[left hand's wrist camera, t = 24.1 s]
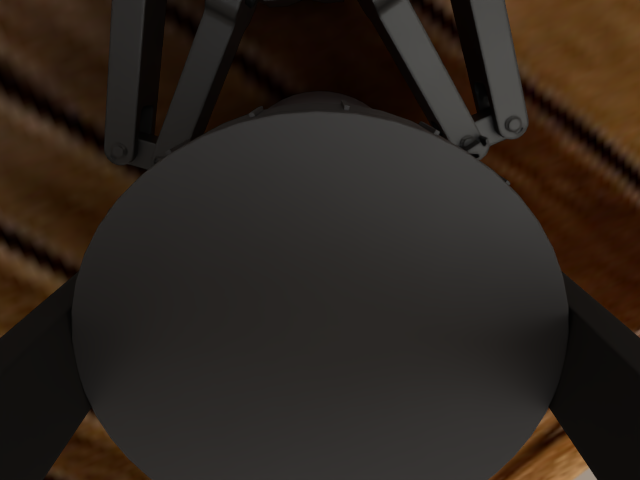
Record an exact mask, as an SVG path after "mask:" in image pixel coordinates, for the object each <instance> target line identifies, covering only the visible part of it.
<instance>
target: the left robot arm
mask: <svg viewBox="0 0 640 480" xmlns="http://www.w3.org/2000/svg"><path fill="white" fill-rule="evenodd" d="M561 272H562V271H561ZM78 273H79V272H77V273H76V274H75V275H74V276H73V277H71V278H70V279H69V280H68V281H67V282H66V283H64V284H63V285H62V286H61V287H60V288H59V289H57V290H56V291H55V292H54V293H53V294H52V295H50V296H49V297H48V298H47V299H46V300H44V301H43V302H42V303H41V304H40V305H39V306H37V307H36V308H35V309H34V310H33V311H32V312H30V313H29V314H28V315H27V316H26V317H25V318H23V319H22V320H21V321H20V322H19V323H17V324H16V325H15V326H14V327H13V328H12V329H10V330H9V331H8V332H7V333H6V334H5V335H3V336H2V337H1V338H0V480H43V479H44V477H45V476H46V474H47V473H48V471H49V470H50V468H51V467H52V465H53V464H54V462H55V461H56V459H57V458H58V456H59V455H60V453H61V452H62V450H63V449H64V447H65V446H66V444H67V443H68V442H69V440H70V439H71V437H72V436H73V434H74V433H75V431H76V430H77V428H78V427H79V425H80V424H81V422H82V421H83V419H84V418H85V416H86V415H87V413H88V412H89V410H90V409H91V407H92V406H91V404H90V402H89V400H88V398H87V396H86V394H85V392H84V389H83V386H82V383H81V379H80V376H79V372H78V368H77V364H76V359H75V354H74V350H73V344H72V315H71V311H72V304H73V298H74V291H75V284H76V280H77V277H78ZM562 275H563V279H564V285H565V290H566V296H567V302H568V319H569V336H568V344H567V351H566V356H565V361H564V365H563V369H562V373H561V377H560V380H559V384H558V387H557V390H556V392H555V394H554V396H553V398H552V400H551V403H550V405H549V408H550V410H551V411H552V413H553V414H554V416H555V417H556V419H557V420H558V422H559V423H560V425H561V426H562V428H563V429H564V431H565V432H566V434H567V435H568V437H569V438H570V440H571V441H572V443H573V444H574V446H575V447H576V449H577V450H578V452H579V453H580V455H581V456H582V458H583V459H584V461H585V462H586V463H587V465H588V466H589V468H590V469H591V471H592V472H593V474H594V475H595V477H596V478H597V480H640V338H639V337H638V336H637V335H636V334H635V333H633V332H632V331H631V330H630V329H629V328H628V327H626V326H625V325H624V324H623V323H622V322H620V321H619V320H618V319H617V318H616V317H615V316H613V315H612V314H611V313H610V312H609V311H608V310H606V309H605V308H604V307H603V306H602V305H601V304H599V303H598V302H597V301H596V300H595V299H593V298H592V297H591V296H590V295H589V294H588V293H586V292H585V291H584V290H583V289H582V288H581V287H579V286H578V285H577V284H576V283H575V282H574V281H572V280H571V279H570V278H569V277H568V276H566V275H565V274H564V273H563V272H562Z"/></svg>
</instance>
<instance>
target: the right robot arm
mask: <svg viewBox="0 0 640 480" xmlns="http://www.w3.org/2000/svg"><path fill="white" fill-rule="evenodd" d="M299 1H302V0H205V10H204V13H203V16H202V19H201V22H200V25H199V27H198V30H197V33H196V36H195V38H194V41H193V44H192V47H191V49H190V52H189V55H188V57H187V60H186V63H185V66H184V68H183V71H182V74H181V77H180V79H179V82H178V85H177V88H176V90H175V93H174V96H173V99H172V101H171V104H170V107H169V110H168V112H167V115H166V118H165V121H164V123H163V126H162V129H161V132H160V134H159V136H155V135H154V132H155V121H156V111H157V100H158V89H159V78H160V68H161V57H162V46H163V35H164V24H165V14H166V3H167V0H112V10H111V29H110V47H109V66H108V84H107V103H106V121H105V140H104V151H105V155H106V156H107V158H108V159H109V160H110V161H111V162H112V163H114V164H116V165H125V164H129V165H133V166H136V167H140V168H144V169H146V170H149V169H150V168H151V167H153V166H154V165H155V164H157V163H158V162H159V161H161V160H162V159H163V158H165V157H166V156H167V154H166V151H168V150H169V149H171V148H173V147H175V146H176V145H178V144H180V143H182V142H184V141H185V140H187V139H190V140H191V141H192V140H194V139H196V138H197V137H199V136H201V135H203V134H204V131H205V129H206V126H207V124H208V121H209V119H210V116H211V114H212V111H213V109H214V106H215V104H216V101H217V98H218V96H219V93H220V91H221V88H222V86H223V83H224V81H225V78H226V76H227V73H228V71H229V68H230V66H231V63H232V61H233V58H234V56H235V53H236V51H237V48H238V46H239V43H240V41H241V38H242V36H243V33H244V31H245V29H246V28H247V26H248V25H249V23H250V21H251V18H252V16H253V13H254V11H255V8H256V6H257V3H258V2H259V3H262V4H266V5H267V6H268V7H281V6H289V5H291V4H294V3H296V2H299ZM313 1H318V2H322V3H335V2H344V0H313ZM358 2H359V4H360V5H361V7H362V9H363V11H364V12H365V14H366V15H367V17H368V18H369V19H370V20H371V22H372V23H373V25H374V27H375V28H376V30H377V32H378V34H379V35H380V37H381V39H382V41H383V42H384V44H385V46H386V48H387V49H388V51H389V53H390V55H391V56H392V58H393V60H394V62H395V63H396V65H397V67H398V69H399V70H400V72H401V74H402V76H403V77H404V79H405V81H406V83H407V84H408V86H409V88H410V89H411V91H412V93H413V95H414V96H415V98H416V100H417V102H418V103H419V105H420V107H421V109H422V110H423V112H424V114H425V116H426V117H427V119H428V121H429V123H430V124H431V126H432V127H433V128H435V129H436V130H438V131H440V134H439V135H440V136H441V137H443V138H445V139H447V140H448V141H450V142H452V143H453V144H455V145H457V146H459V147H460V148H462V149H464V150H465V151H467V152H468V153H469V154H471V155H472V156H474V157H475V158H476V159H478V160H480V159H482V158H483V157H484V156H485V155H486V154H487V152H488V150H489V146H491V145H493V144H495V143H498V142H500V141H503V140H505V139H516V138H518V137H520V136H522V135H523V133H524V132H525V131H526V129H527V127H528V116H527V111H526V106H525V101H524V95H523V90H522V85H521V80H520V75H519V70H518V65H517V60H516V55H515V50H514V45H513V40H512V35H511V30H510V25H509V20H508V15H507V10H506V5H505V0H451V5H452V9H453V13H454V17H455V21H456V26H457V30H458V34H459V38H460V43H461V47H462V51H463V55H464V59H465V64H466V68H467V72H468V76H469V81H470V85H471V89H472V93H473V97H474V102H475V106H476V110H477V113H476V114H474V115H472V116H471V115H470V113H469V111H468V109H467V107H466V106H465V104H464V102H463V100H462V98H461V96H460V94H459V93H458V91H457V89H456V87H455V85H454V83H453V81H452V80H451V78H450V76H449V74H448V72H447V70H446V68H445V67H444V65H443V63H442V61H441V59H440V57H439V55H438V54H437V52H436V50H435V48H434V46H433V44H432V42H431V41H430V39H429V37H428V35H427V33H426V31H425V29H424V28H423V26H422V24H421V22H420V20H419V18H418V16H417V15H416V13H415V11H414V9H413V7H412V5H411V3H410V2H409V0H358Z"/></svg>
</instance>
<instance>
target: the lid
mask: <svg viewBox="0 0 640 480" xmlns="http://www.w3.org/2000/svg"><path fill="white" fill-rule="evenodd" d="M439 134H440V131H438V130H436V129H435V128H433V127H431V126H429V125H427V124H425V123H423V122H421V121H420V123H419V125H418V124H416V123H414V122H412V121H410V120H407V119H404V118H401V117H398V116H395V115H393V114H390V113H387V112H384V111H381V110H376V109H371V108H365V107H360V106H355V105H350V104H348V103H347V102H346V100H341V104H333V103H306V104H293V105H283V106H279V107H274V108H270V109H265V110H264V109H263V106H260V107H258V108H256V109H255V110H253V111H252V112H250V113H249V114H247V115H244V116H242V117H239V118H236V119H234V120H231V121H228V122H226V123H223V124H221V125H220V126H218V127H216V128H214V129H212V130H210V131H208V132H207V133H205V134H203V135H201V136H199V137H197V138H196V139H194V140H192V141H191V140H190V139H187V140H185V141H184V142H182V143H180V144H178V145H176V146H175V147H173V148H171V149H169V150H168V151H166V154H167V156H166V157H165V158H163V159H162V160H161V161H159V162H158V163H157V164H155V165H154V166H153V167H151V168H150V169H149V170H147V171H146V172H145V173H143V174H142V175H141V176H140V177H139V178H138V179H137V180H136V181H135V182H134V183H133V184H132V185H131V186H130V187H129V188H128V189H127V190H126V191H125V192H124V193H123V194H122V195H121V196H120V197H119V198H118V200H117V201H116V202H115V204H114V205H113V206H112V208H110V209H109V211H108V213H107V215H106V216H105V218H104V219H103V220H102V222H101V223H100V225H99V226H98V228H97V230H96V232H95V234H94V236H93V238H92V240H91V242H90V244H89V246H88V248H87V250H86V252H85V254H84V258H83V261H82V264H81V267H80V270H79V273H78V277H77V280H76V284H75V291H74V298H73V304H72V311H71V315H72V344H73V350H74V354H75V359H76V364H77V368H78V372H79V376H80V379H81V383H82V386H83V389H84V392H85V394H86V396H87V398H88V400H89V402H90V404H91V406H92V408H93V410H94V412H95V414H96V417H97V418H98V420H99V421H100V423H101V424H102V426H103V427H104V429H105V430H106V432H107V433H108V435H109V436H110V438H111V439H112V440H113V441H114V442H115V444H116V445H117V446H118V447H119V448H120V449H121V450H122V452H123V453H124V454H125V455H126V456H127V457H128V459H129V460H131V461H132V462H133V463H134V464H135V465H136V466H137V467H138V468H139V469H140V470H142V471H143V472H144V473H145V474H146V475H147V476H148V477H149V478H151V479H152V480H488V479H489V478H490V477H492V476H493V475H494V474H496V473H497V472H498V471H499V470H500V469H501V468H502V467H503V466H504V465H505V464H506V463H507V462H508V461H509V460H510V459H512V458H513V457H514V456H515V454H516V453H517V452H518V451H519V450H520V448H521V447H522V446H523V445H524V444H525V442H526V441H527V440H528V439H529V438H530V436H531V435H532V434H533V432H534V431H535V429H536V427H537V426H538V424H539V423H540V421H541V420H542V418H543V416H544V415H545V413H546V411H547V409H548V407H549V405H550V403H551V400H552V398H553V396H554V394H555V392H556V390H557V387H558V384H559V380H560V377H561V373H562V369H563V365H564V361H565V356H566V351H567V344H568V336H569V319H568V302H567V296H566V290H565V285H564V279H563V275H562V272H561V269H560V266H559V264H558V261H557V258H556V255H555V252H554V249H553V247H552V245H551V243H550V241H549V240H548V238H547V236H546V234H545V232H544V230H543V228H542V227H541V225H540V223H539V221H538V220H537V218H536V217H535V216H534V214H533V213H532V212H531V210H530V209H529V208H528V206H527V205H526V204H525V203H524V201H523V200H522V199H521V197H520V196H519V195H518V194H517V193H516V192H515V191H514V190H513V189H512V188H511V187H510V186H509V185H510V183H509V181H508V180H506V179H504V178H503V177H501V176H499V175H498V174H497V173H495V172H494V171H493V170H492V169H491V168H489V167H488V166H486V165H485V164H484V163H482V162H481V161H479V160H478V159H476V158H475V157H474V156H472V155H471V154H469V153H468V152H467V151H465V150H464V149H462V148H460V147H459V146H457V145H455V144H453V143H452V142H450V141H448V140H447V139H445V138H443V137H441V136H440V135H439Z"/></svg>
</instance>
